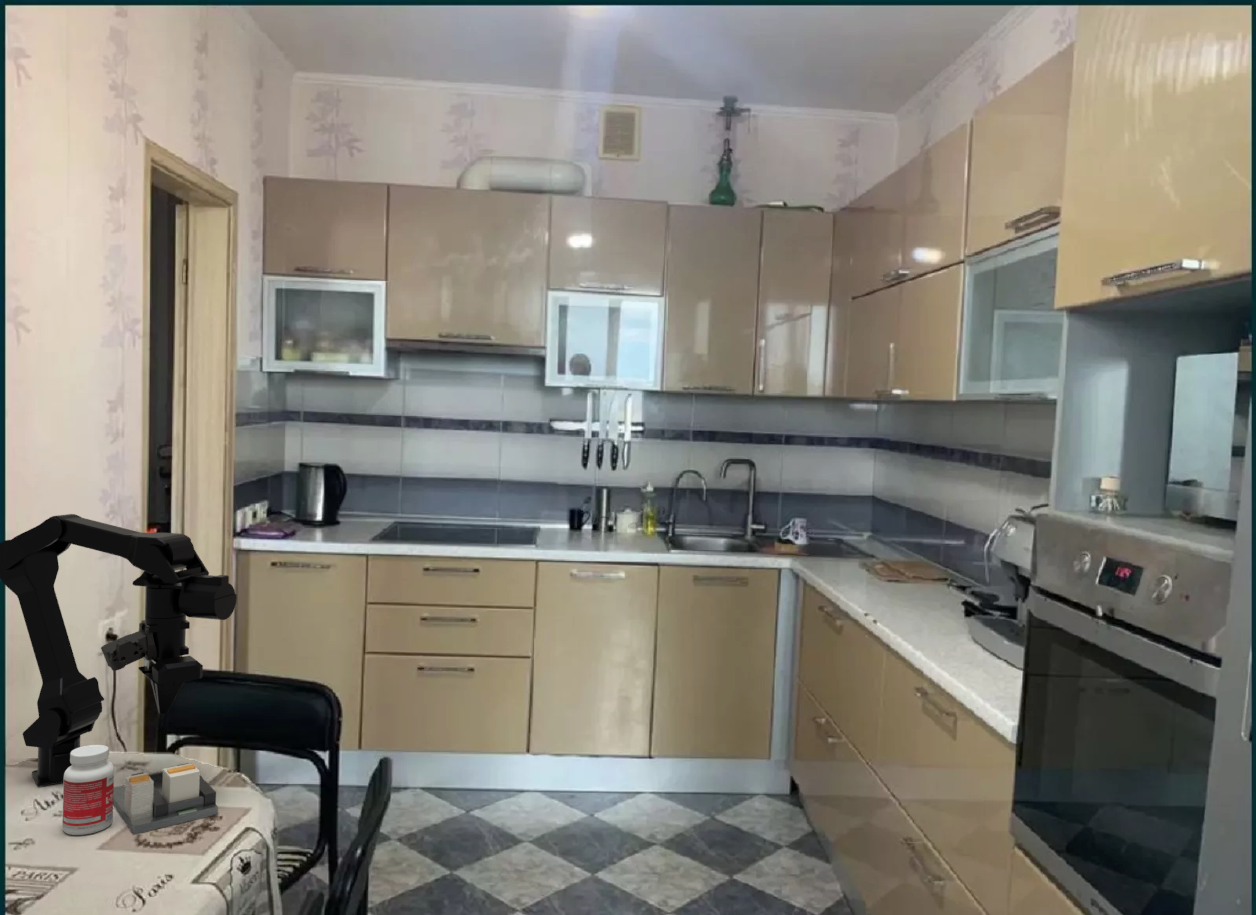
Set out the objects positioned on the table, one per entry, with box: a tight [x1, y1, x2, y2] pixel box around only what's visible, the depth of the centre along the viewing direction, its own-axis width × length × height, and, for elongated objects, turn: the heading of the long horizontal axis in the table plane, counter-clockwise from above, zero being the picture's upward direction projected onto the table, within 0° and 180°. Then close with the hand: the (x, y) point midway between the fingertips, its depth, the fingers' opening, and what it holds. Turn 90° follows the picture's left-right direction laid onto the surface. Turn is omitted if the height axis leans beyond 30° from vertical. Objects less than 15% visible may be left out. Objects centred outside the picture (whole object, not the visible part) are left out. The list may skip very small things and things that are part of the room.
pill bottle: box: [61, 744, 115, 836], centre depth 126 cm, size 6×6×11 cm
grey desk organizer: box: [113, 762, 219, 835], centre depth 134 cm, size 16×11×6 cm
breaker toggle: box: [162, 762, 201, 804], centre depth 131 cm, size 4×4×5 cm
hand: (163, 713), depth 139 cm, fingers closed
